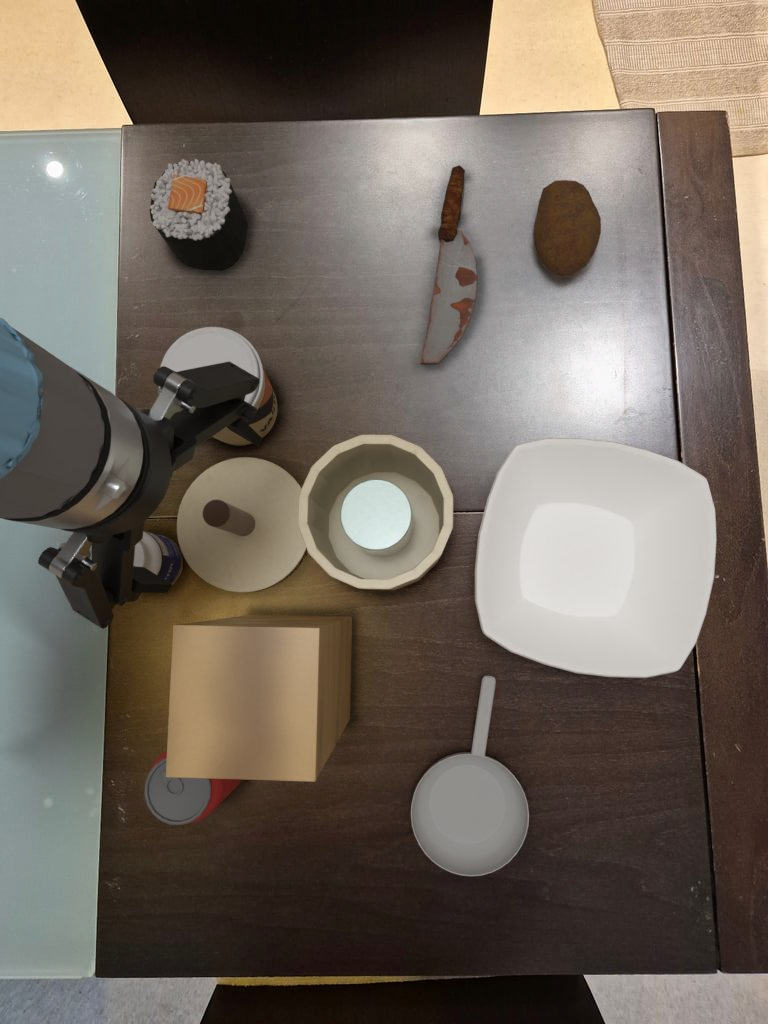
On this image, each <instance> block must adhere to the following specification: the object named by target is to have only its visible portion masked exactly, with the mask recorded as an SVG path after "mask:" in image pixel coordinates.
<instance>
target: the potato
mask: <svg viewBox="0 0 768 1024" xmlns="http://www.w3.org/2000/svg"><path fill="white" fill-rule="evenodd" d="M601 219H602V218H601V216H600V212H599V210H598V208H597V206H596V204H595V203H594V201H593V198H592V196H591V194H590V191H589V190H588V189H587V188H586V186H585V185H584V184H583V183H581V182H579V181H576V180H569V179H568V180H567V179H563V180H562V179H559V180H554V181H552V182H551V183H549V184H547V185H546V186H545V187H543V188H542V190H541V194H540V198H539V201H538V206H537V212H536V215H535V220H534V221H535V222H534V225H533V242H534V243H533V244H534V248H535V252H536V256H537V259H538V260H539V262H540V263H541V264H542V266H543V267H544V268H545V269H546V270H547V271H549V273H551V274H552V275H554V276H556V277H559V278H561V279H563V278H568V277H572V276H575V275H576V274H577V273H579V272H580V271H582V270H583V269H584V268H585V267H586V266H587V265H588V263H589V262H590V260H591V259H592V258H593V256H594V255H595V251H596V250H597V247H598V244H599V241H600V237H601V234H602V223H601V222H602V221H601Z"/></svg>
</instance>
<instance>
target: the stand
mask: <svg viewBox="0 0 768 1024" xmlns="http://www.w3.org/2000/svg"><path fill="white" fill-rule="evenodd" d="M352 638H353V616H339V615H338V616H337V615H336V616H335V615H334V616H333V615H284V614H283V615H282V614H249V615H240V616H233V617H225V618H217V619H208V620H200V621H193V622H184V623H177V624H173V625H172V638H171V639H172V640H171V657H170V658H171V659H170V660H171V661H170V679H169V681H170V682H169V684H170V685H169V701H168V718H167V719H168V720H167V721H168V722H167V741H166V750H167V760H166V777H176V778H208V779H241V781H242V780H243V781H245V780H246V781H272V782H273V781H276V782H278V781H279V782H305V783H306V782H311V783H315V782H316V781H317V779H318V778H319V776H320V774H321V772H322V770H323V769H324V767H325V765H326V763H327V762H328V760H329V758H330V756H331V755H332V752H333V751H334V749H335V747H336V745H337V743H338V742H339V740H340V738H341V737H342V734H343V732H344V731H345V730H346V727H347V725H348V724H349V722H350V720H351V687H352V686H351V685H352V682H351V681H352V644H353V643H352V641H353V639H352Z"/></svg>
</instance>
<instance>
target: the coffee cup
mask: <svg viewBox="0 0 768 1024" xmlns="http://www.w3.org/2000/svg"><path fill="white" fill-rule="evenodd" d="M224 362H231V363H233V364H235V365H237V366H238V367H240V368H242V369H243V370H245V371H247V372H249V373H250V374H252V375H254V376H255V377H257V378H259V384H258V387H257V388H256V390H255V391H254V392H253V393H251V394H247V395H246V396H245V400H244V401H246V402H247V403H249V404H251V405H252V406H254V407H256V408H257V412H256V415H255V416H254V418H253V419H252V421H250V422H249V421H248V423H247V424H248V425H249V426H250V427H251V428H252V429H253V430H254V431H255V432H256V433H257V434H258V435H260V436H261V437H262V438H263V439H264V438H265V437H266V436H267V435H268V433H269V432H270V431H271V430H272V428H273V427H274V424H275V423H276V419H277V415H278V401H277V397H276V393H275V391H274V388H273V386H272V384H271V381H270V380H269V377H268V375H267V373H266V370H265V368H264V366H263V362H262V360H261V358H260V355H259V353H258V352H257V350H256V348H255V347H254V346H253V344H252V343H251V342H250V341H249V340H248V339H247V338H246V337H244V336H243V335H241V334H240V333H238V332H236V331H234V330H232V329H229V328H225V327H222V326H221V327H220V326H205V327H204V326H203V327H200V328H196V329H193V330H190V331H188V332H186V333H185V334H183V335H181V336H179V337H178V338H177V339H176V340H175V341H174V342H173V343H172V344H171V345H170V347H169V348H168V349H167V351H166V352H165V354H164V356H163V358H162V360H161V363H160V366H159V368H160V367H162V366H165V367H167V368H169V369H171V370H173V371H175V372H178V371H183V370H188V369H194V368H199V367H204V366H209V365H214V364H219V363H224ZM159 388H160V387H159V386H158V389H159ZM211 438H213V439H216V440H217V441H220V442H222V443H225V444H228V445H231V446H238V447H239V446H247V445H251V444H252V443H251V442H249V441H247V440H246V439H244V438H242V437H241V436H239V435H237V434H236V433H234V432H232V431H231V430H229V429H228V428H227V427H225V428H224V429H223V430H221V431H220V432H218V433H217V434H215V435H214V436H212V437H211ZM252 445H253V444H252Z"/></svg>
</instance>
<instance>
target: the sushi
mask: <svg viewBox="0 0 768 1024" xmlns="http://www.w3.org/2000/svg"><path fill="white" fill-rule="evenodd" d="M231 182H232V181H231V178H229V177H228V176H227V174H226V172H225V171H223V170H222V167H221V164H218V163H217V162H215V163H211V162H210V161H209V162H205V161H204V160H203V159H201V160H200V161H199V159H197V158H194V160H191V161H189V160H186V159H183V158H181V161H179V162H177V163H170V162H168V163H167V168H166V169H165V170H164V172H163V173H162V174H161V175H160V177H159V178H158V180H157V181H154V185H153V189H152V190H151V194H150V195H149V197H150V204H149V215H150V216H149V217H150V221H151V223H152V226H153V227H155V229H156V230H157V232H158V233H159V235H160V236H161V238H162V239H163V240H164V242H165V243H166V244H167V246H168V247H169V249H170V250H171V251H172V253H173V254H174V255H175V257H176V259H178V260H179V261H180V262H181V263H182V264H184V265H186V266H188V267H190V268H195V269H200V270H209V271H211V270H213V271H222V270H225V269H227V268H230V267H232V265H234V264H235V263H236V262H238V260H239V259H240V258H241V255H242V254H243V251H244V248H245V244H246V238H247V231H248V220H247V216H246V213H245V212H244V211H245V210H244V209H243V207H242V204H241V203H240V201H239V199H238V197H237V195H236V193H235V190H234V187H233V185H232V183H231Z"/></svg>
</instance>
